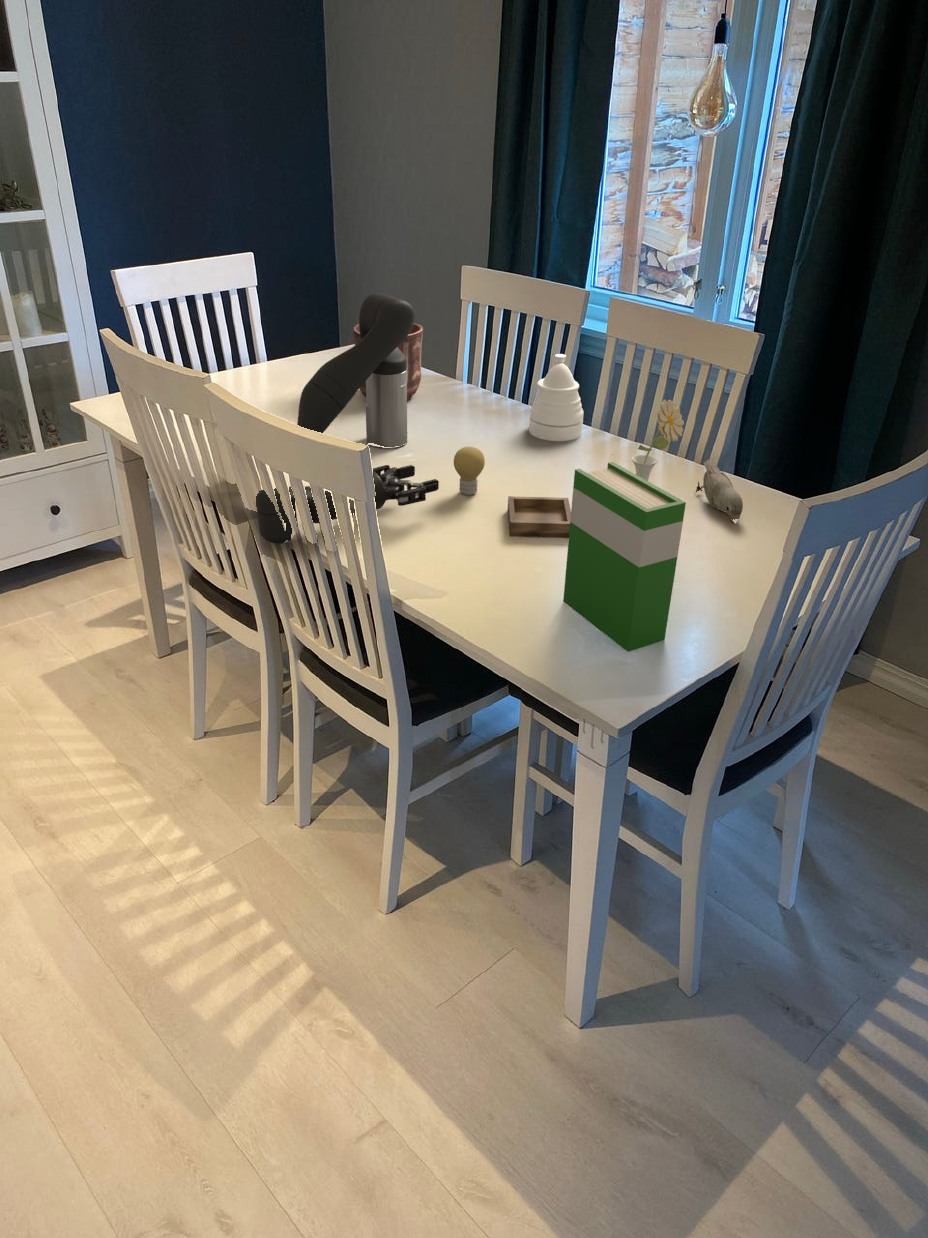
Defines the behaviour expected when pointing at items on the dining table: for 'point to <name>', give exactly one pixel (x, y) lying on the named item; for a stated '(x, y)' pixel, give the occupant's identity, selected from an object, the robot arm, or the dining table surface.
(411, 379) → the pottery
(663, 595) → the hardback book
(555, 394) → the honey pot
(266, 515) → the robot arm
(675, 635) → the dining table surface
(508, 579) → the dining table surface
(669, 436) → the flower in vase
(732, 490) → the decorative bird
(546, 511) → the walnut tray
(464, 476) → the light bulb
